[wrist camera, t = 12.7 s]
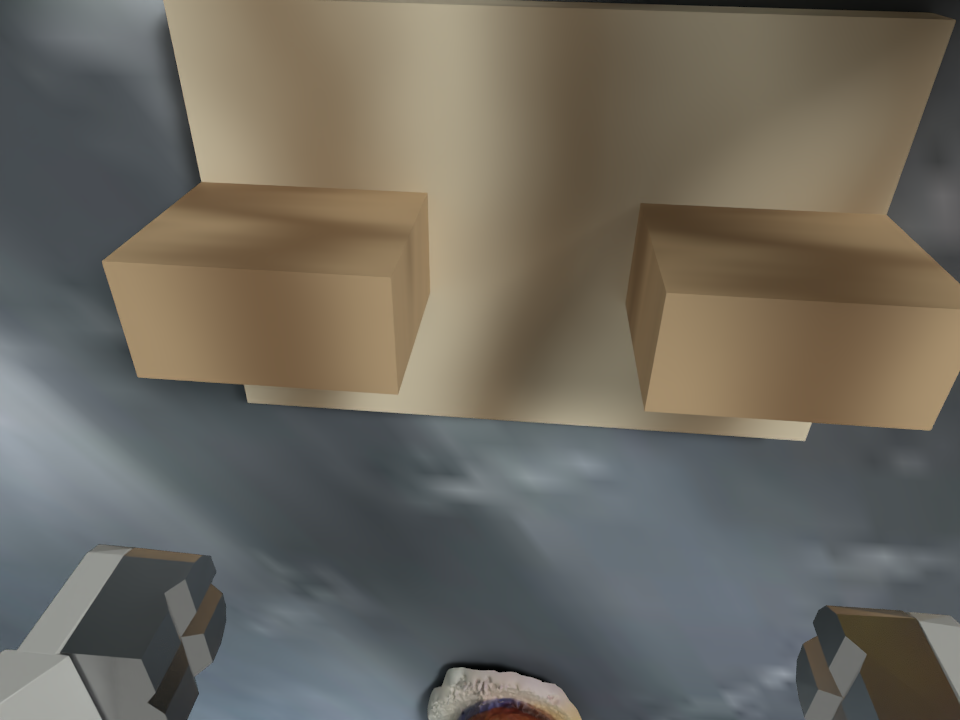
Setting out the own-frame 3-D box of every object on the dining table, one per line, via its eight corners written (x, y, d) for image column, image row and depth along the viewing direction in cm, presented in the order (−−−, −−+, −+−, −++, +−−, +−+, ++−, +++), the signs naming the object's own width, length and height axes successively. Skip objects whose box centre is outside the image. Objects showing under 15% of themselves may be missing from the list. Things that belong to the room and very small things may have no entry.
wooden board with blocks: (260, 381, 24) (180, 513, 19) (184, -10, 17) (29, 27, 12) (793, 417, 23) (864, 567, 18) (931, 12, 16) (1107, 64, 11)
